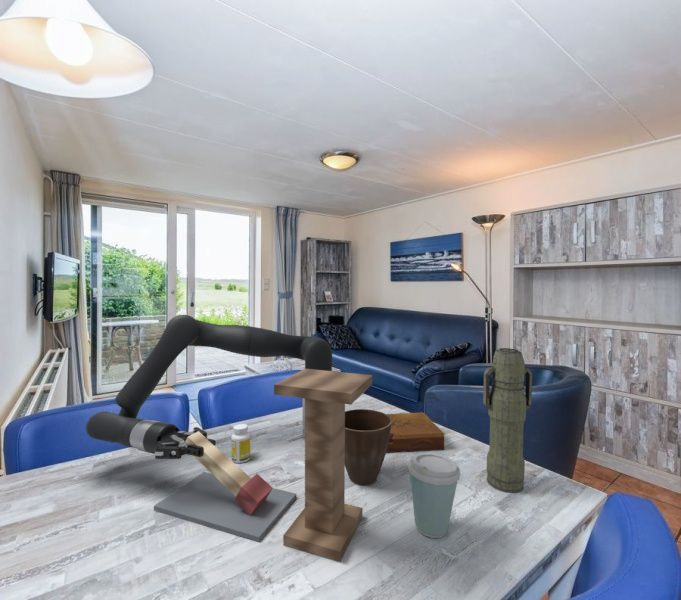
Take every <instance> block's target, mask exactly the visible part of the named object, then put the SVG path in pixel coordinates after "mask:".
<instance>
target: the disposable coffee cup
mask: <svg viewBox="0 0 681 600" xmlns="http://www.w3.org/2000/svg"><path fill="white" fill-rule="evenodd" d="M407 469H408V471H409V479H410V488H411V498H412V506H413V515H414V523H415V526H416V528H417V530H418V532H419V533H421V534H422V536H423V535H424V536H425V537H427V538H431V539H440V538H442V537H444V536H445V535H446V533H447V532H448V529H449V524H450V519H451V515H452V509H453V507H454V505H453V504H454V499H455V497H456V490H457V486H458V481H459V480H460V478H461V469H460V467H459V466H458V464H456V462H455V461H454V460H453V459H451V458H449V457H448V456H445V455H443V454H441V453H440V454H439V453H435V452H419V453H416V454H414V455H413V456H412V457H411V459H410V461H409V462H408V467H407Z"/></svg>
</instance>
